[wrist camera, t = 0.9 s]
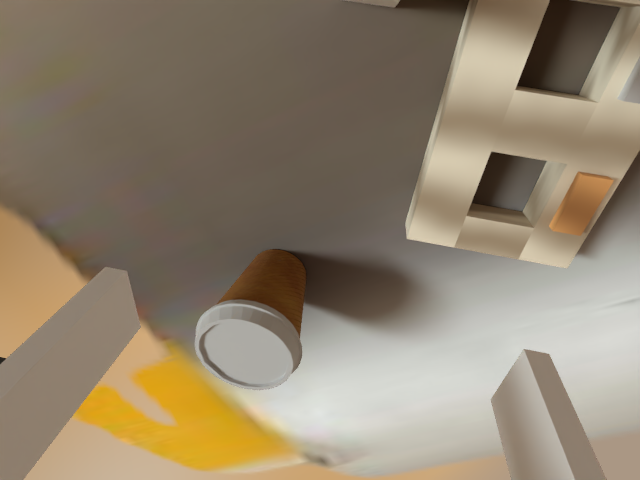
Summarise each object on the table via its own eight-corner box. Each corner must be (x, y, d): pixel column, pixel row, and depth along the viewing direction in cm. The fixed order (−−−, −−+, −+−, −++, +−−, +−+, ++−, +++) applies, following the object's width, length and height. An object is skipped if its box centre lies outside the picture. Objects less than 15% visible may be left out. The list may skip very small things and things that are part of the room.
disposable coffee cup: (228, 237, 39) (174, 313, 29) (315, 234, 37) (288, 315, 27) (248, 304, 44) (207, 390, 34) (325, 305, 42) (306, 396, 32)
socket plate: (490, -74, 23) (507, -89, 20) (721, -45, 22) (777, -56, 19) (405, 222, 35) (407, 243, 32) (553, 249, 34) (571, 273, 31)
